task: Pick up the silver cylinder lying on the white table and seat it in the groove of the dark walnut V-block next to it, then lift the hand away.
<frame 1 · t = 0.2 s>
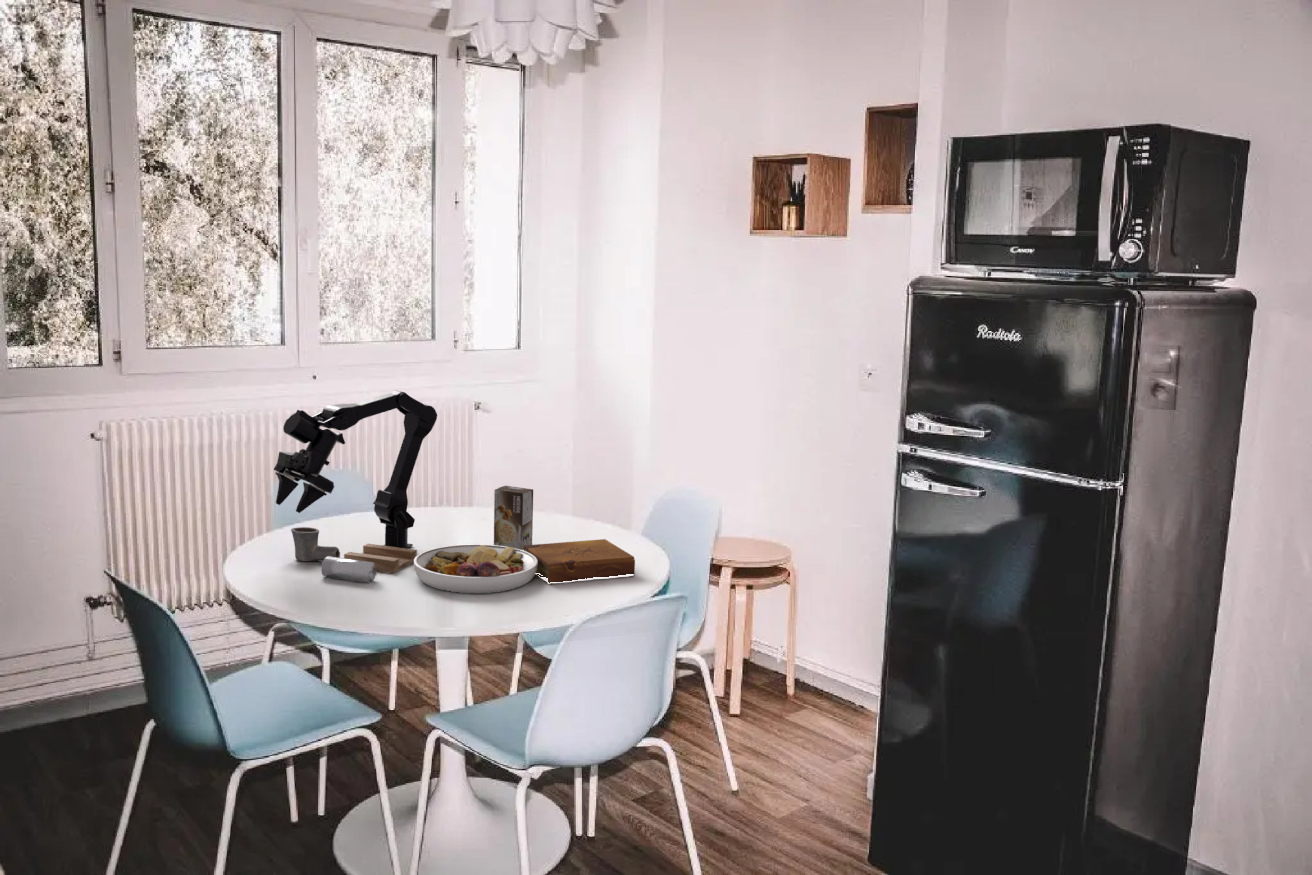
hand: (287, 508, 290), 15 cm above the table, tool tilted 30°, fingers open, 9 cm apart
v block: (380, 563, 299), on the table
coffee box: (512, 547, 321), on the table
silver cylinder: (349, 569, 284), point 2 cm above the table
pipe: (314, 561, 299), on the table
wooden box: (577, 573, 301), on the table
bowl: (475, 580, 290), on the table
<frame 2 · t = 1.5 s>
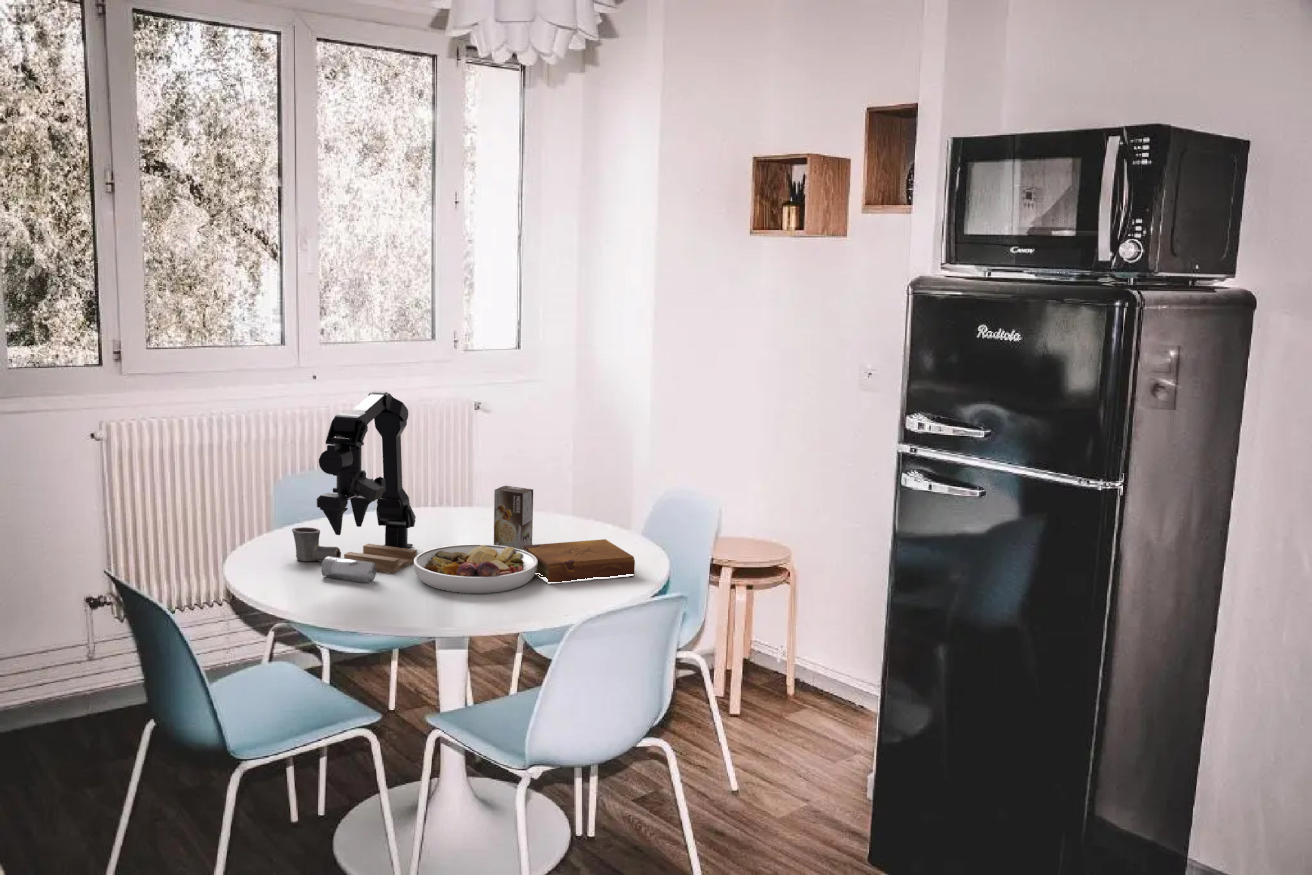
hand: (348, 530, 283), 12 cm above the table, tool pointing down, fingers open, 9 cm apart
nothing on the table moved.
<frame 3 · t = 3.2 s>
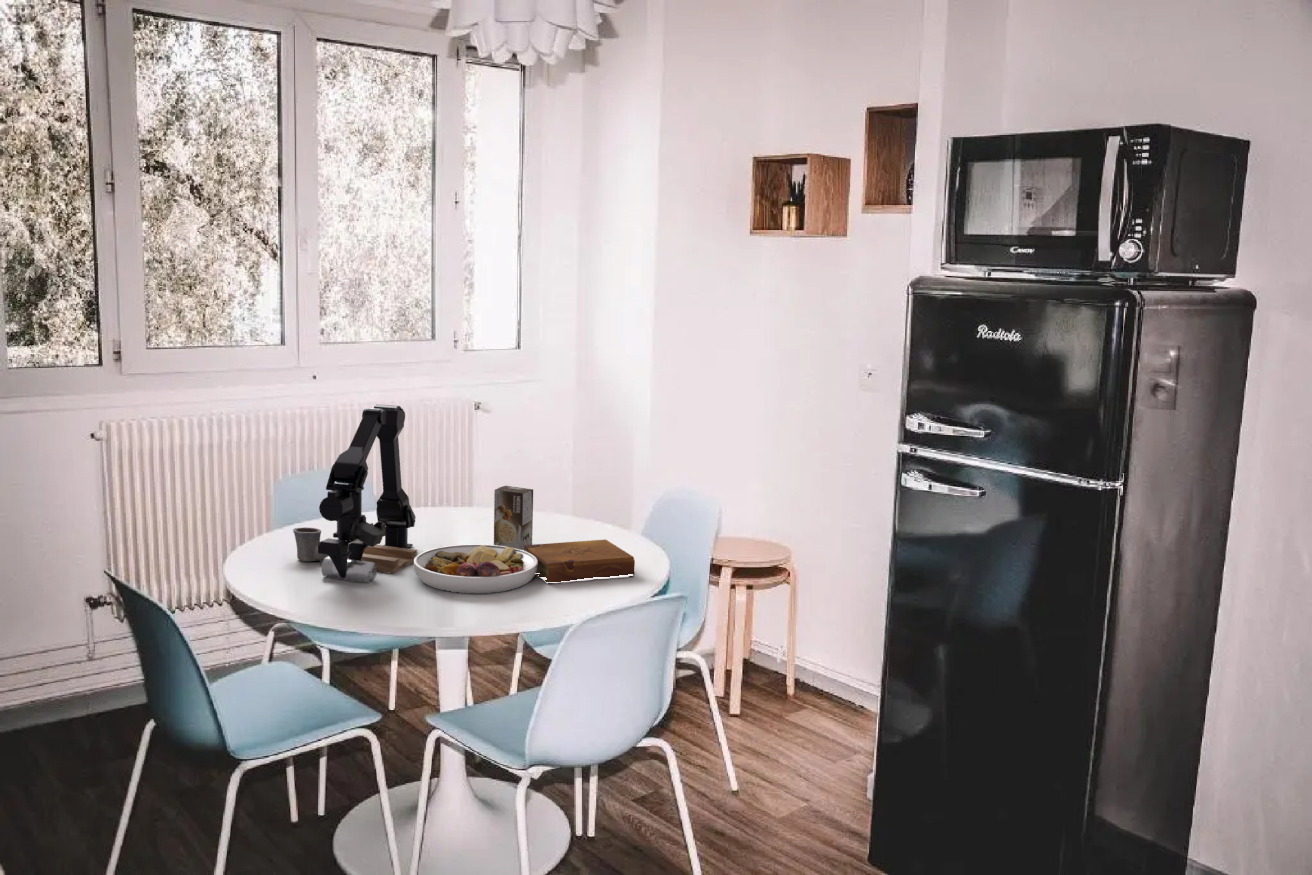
hand: (348, 574, 285), 1 cm above the table, tool pointing down, fingers closed on silver cylinder, 5 cm apart
silver cylinder: (349, 569, 284), point 2 cm above the table, touching gripper
everything else where it was.
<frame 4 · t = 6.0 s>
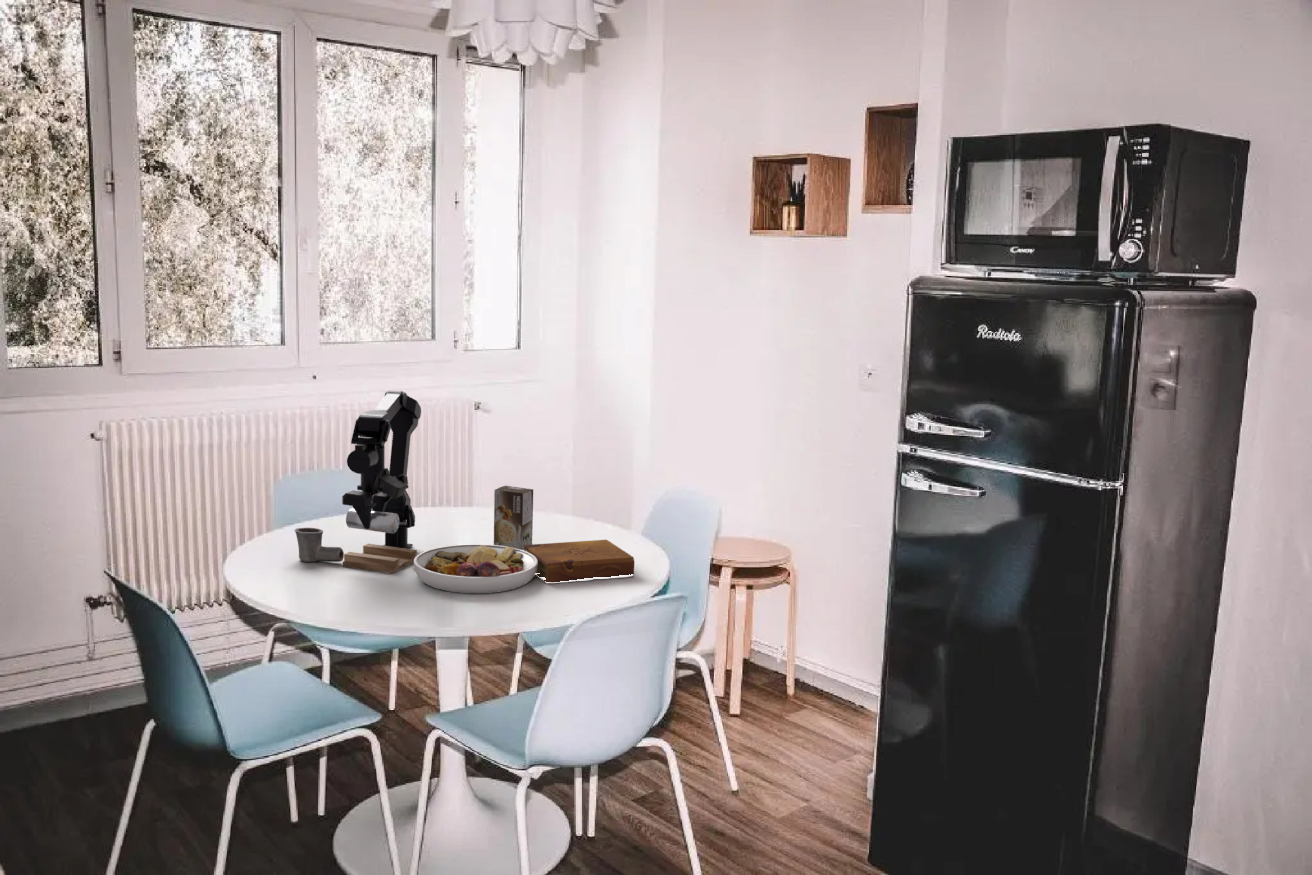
hand: (372, 526, 293), 11 cm above the table, tool pointing down, fingers closed on silver cylinder, 5 cm apart
silver cylinder: (372, 520, 293), point 12 cm above the table, touching gripper
when the fingers open (4 cm above the table, at t = 8.6 s): silver cylinder drops 1 cm, resting on v block.
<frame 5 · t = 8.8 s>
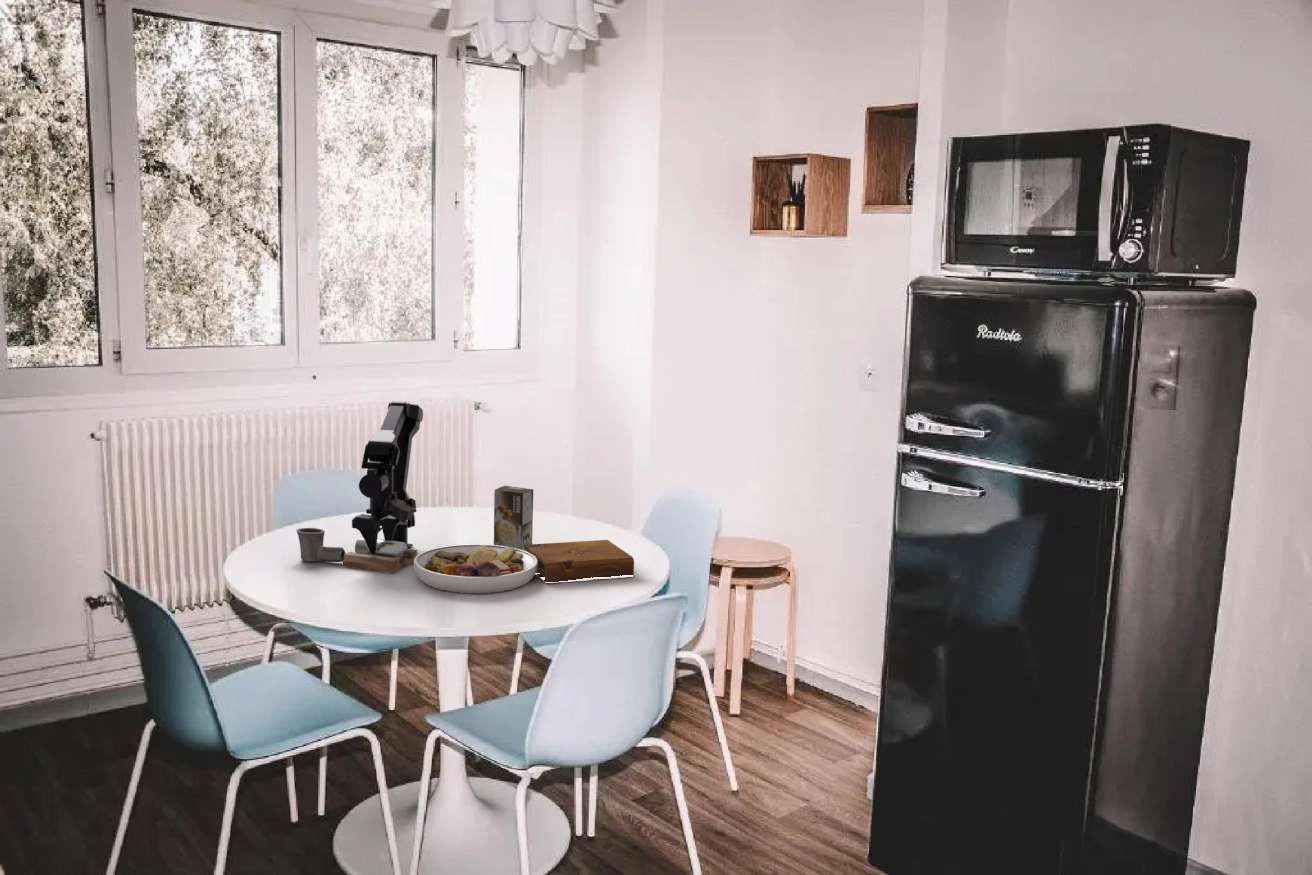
hand: (381, 549, 298), 4 cm above the table, tool pointing down, fingers open, 7 cm apart
silver cylinder: (381, 549, 298), point 4 cm above the table, touching v block
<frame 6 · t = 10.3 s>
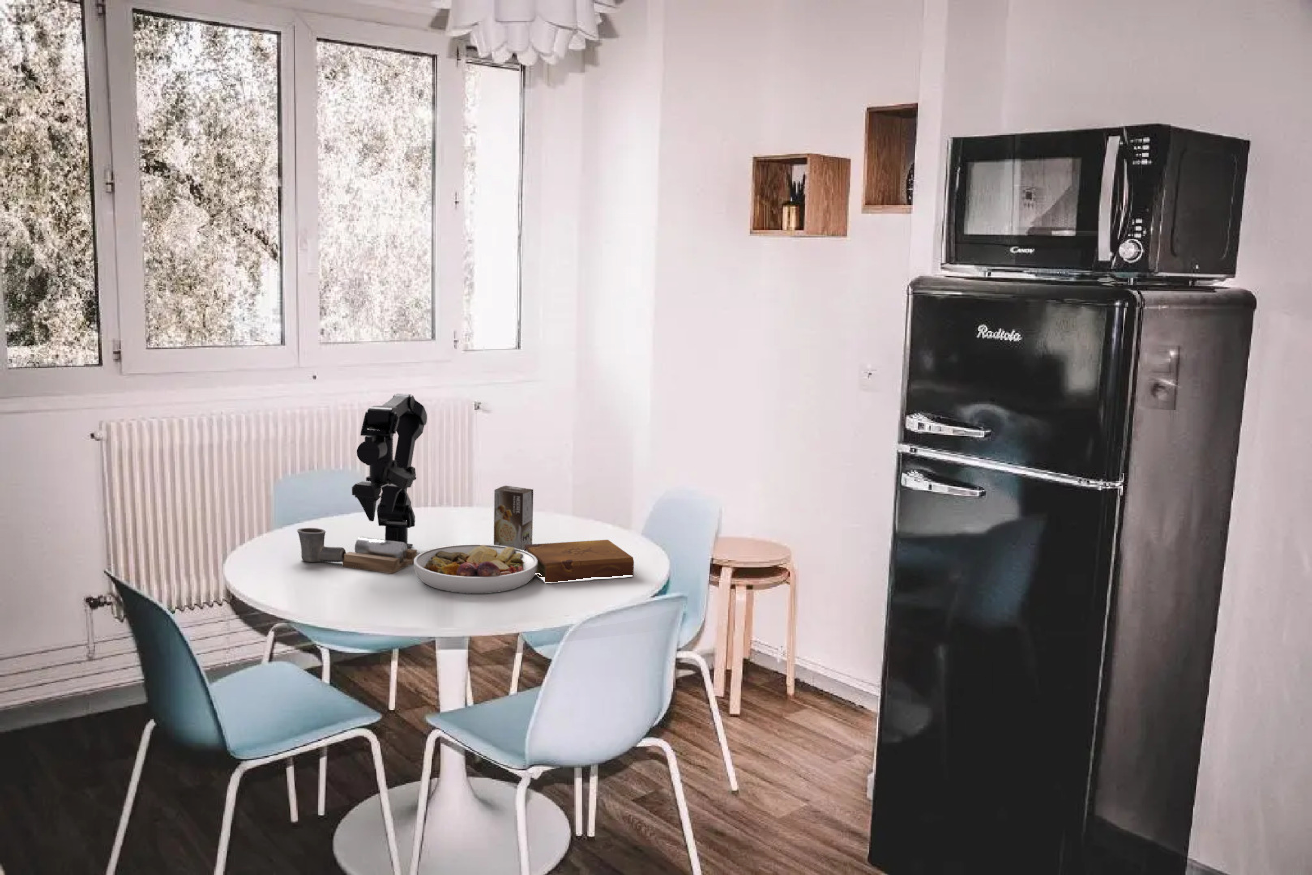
hand: (380, 517, 299), 12 cm above the table, tool pointing down, fingers open, 9 cm apart
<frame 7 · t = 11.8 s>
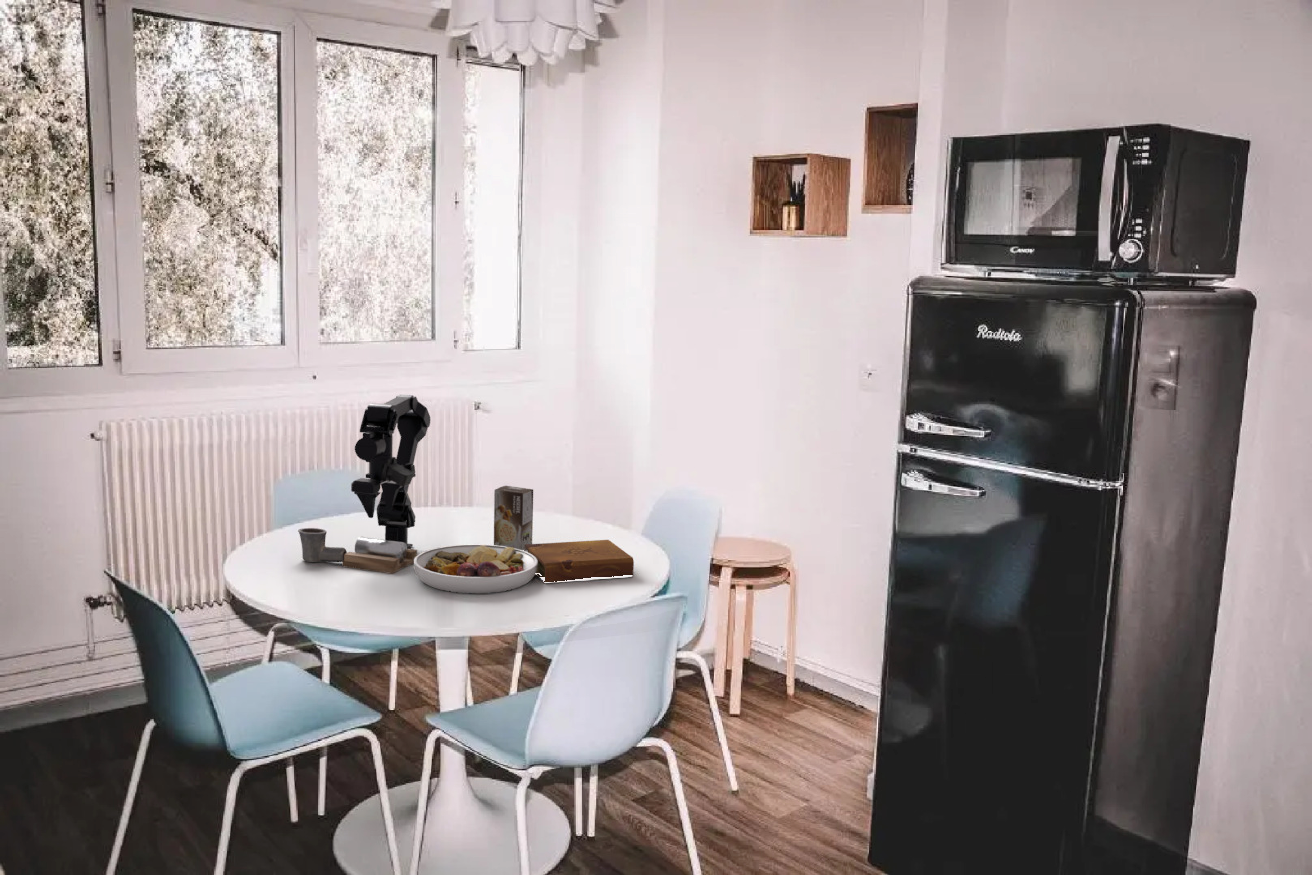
hand: (380, 514, 300), 12 cm above the table, tool pointing down, fingers open, 9 cm apart
at the end: silver cylinder 0.0 cm off-centre on the v block, point 3.7 cm above the v block's base; silver cylinder touching v block; the gripper is holding nothing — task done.
